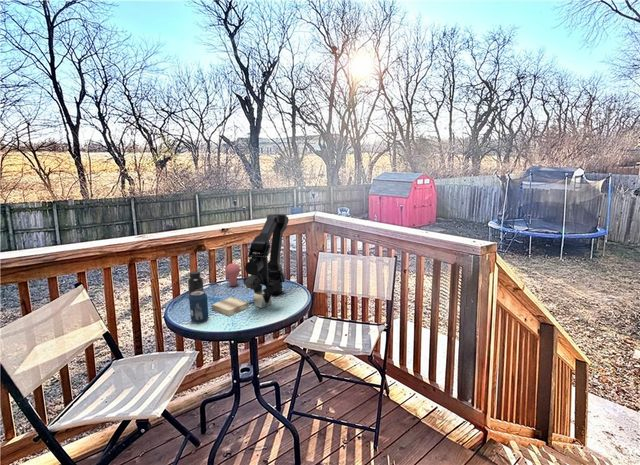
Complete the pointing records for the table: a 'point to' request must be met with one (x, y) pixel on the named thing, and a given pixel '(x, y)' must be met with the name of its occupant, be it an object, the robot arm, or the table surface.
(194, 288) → the supplement bottle
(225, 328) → the table surface
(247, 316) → the table surface
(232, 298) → the thin beige square tile
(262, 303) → the block
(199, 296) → the soda can
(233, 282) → the light bulb
